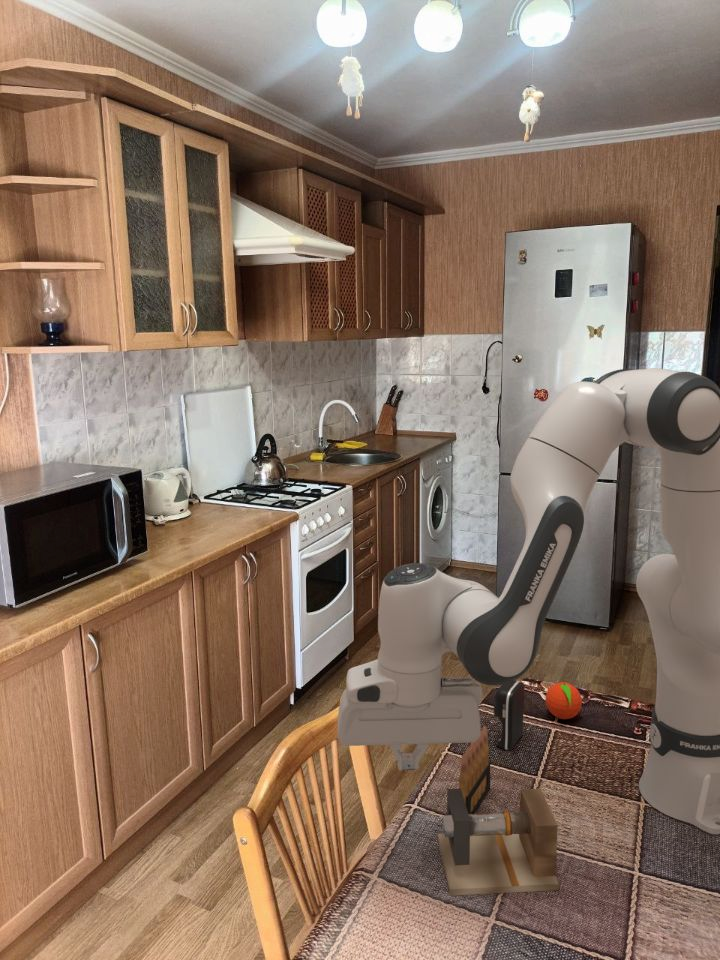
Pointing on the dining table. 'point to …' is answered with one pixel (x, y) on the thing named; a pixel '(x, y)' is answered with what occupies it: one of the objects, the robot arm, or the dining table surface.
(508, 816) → the steel pipe
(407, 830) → the dining table surface
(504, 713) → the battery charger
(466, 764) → the ammunition clip
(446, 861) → the pipe stand
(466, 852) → the collar
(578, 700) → the clementine
